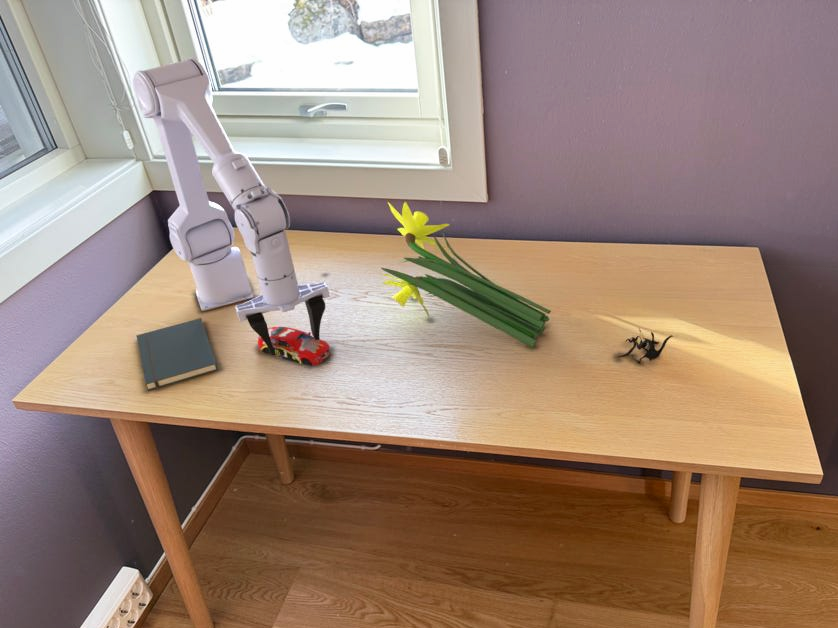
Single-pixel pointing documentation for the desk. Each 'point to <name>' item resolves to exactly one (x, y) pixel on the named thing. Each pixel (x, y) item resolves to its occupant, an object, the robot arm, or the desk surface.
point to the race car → (296, 346)
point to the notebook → (175, 354)
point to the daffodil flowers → (484, 294)
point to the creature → (651, 352)
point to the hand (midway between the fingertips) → (293, 343)
